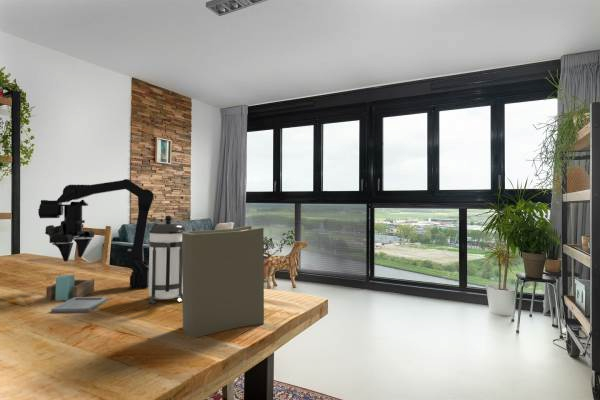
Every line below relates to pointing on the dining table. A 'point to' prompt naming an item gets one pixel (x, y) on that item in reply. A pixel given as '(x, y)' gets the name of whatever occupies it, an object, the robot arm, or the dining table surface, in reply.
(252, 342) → the dining table surface
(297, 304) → the dining table surface
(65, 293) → the block
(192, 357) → the dining table surface
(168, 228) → the coffee press
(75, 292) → the bay
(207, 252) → the book
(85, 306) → the tray
